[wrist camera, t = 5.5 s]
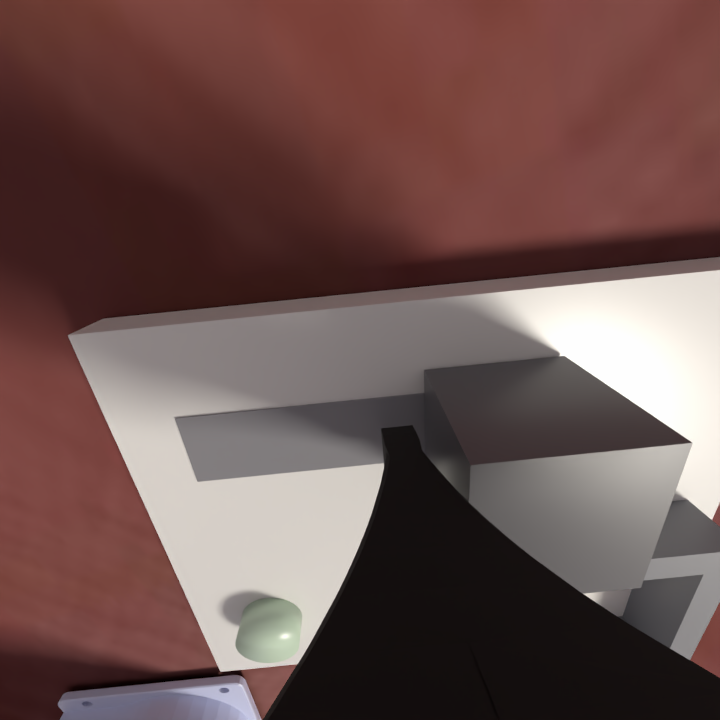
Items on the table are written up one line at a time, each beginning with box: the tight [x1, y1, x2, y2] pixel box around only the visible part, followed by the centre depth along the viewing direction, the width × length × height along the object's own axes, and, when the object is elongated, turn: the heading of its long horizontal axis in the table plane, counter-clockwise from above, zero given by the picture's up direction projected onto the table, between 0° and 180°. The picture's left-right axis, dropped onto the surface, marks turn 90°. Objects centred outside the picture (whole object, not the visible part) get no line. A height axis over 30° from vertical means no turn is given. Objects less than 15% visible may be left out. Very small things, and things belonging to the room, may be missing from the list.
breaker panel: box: [68, 257, 720, 672], centre depth 12 cm, size 20×16×4 cm
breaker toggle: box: [424, 356, 693, 594], centre depth 9 cm, size 4×4×4 cm
